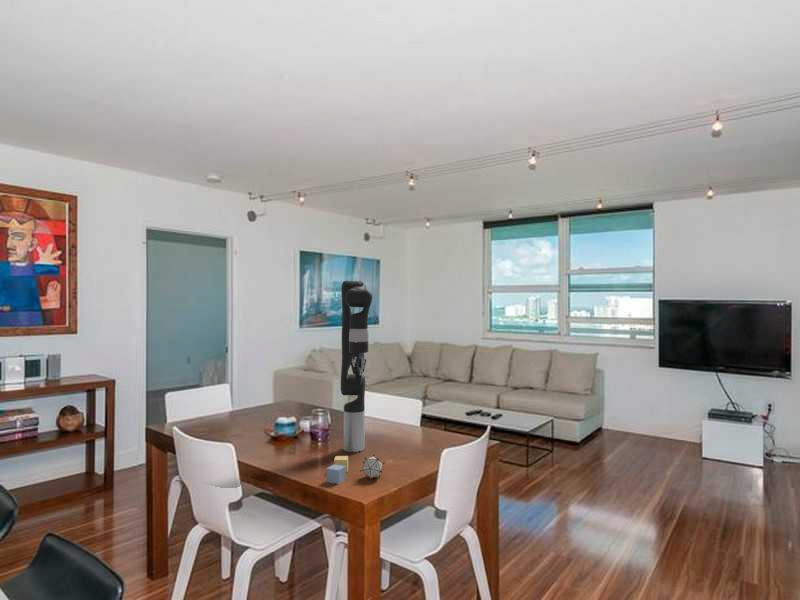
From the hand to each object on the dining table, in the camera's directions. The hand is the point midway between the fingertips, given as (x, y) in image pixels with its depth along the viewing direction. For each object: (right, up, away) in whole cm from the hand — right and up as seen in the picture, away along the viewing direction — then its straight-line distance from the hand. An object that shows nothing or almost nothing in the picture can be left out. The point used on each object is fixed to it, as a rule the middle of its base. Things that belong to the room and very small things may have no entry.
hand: (358, 384), depth 193 cm
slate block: (-7, -33, -13) cm, 36 cm away
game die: (+6, -33, -10) cm, 35 cm away
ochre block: (-7, -33, -2) cm, 34 cm away
